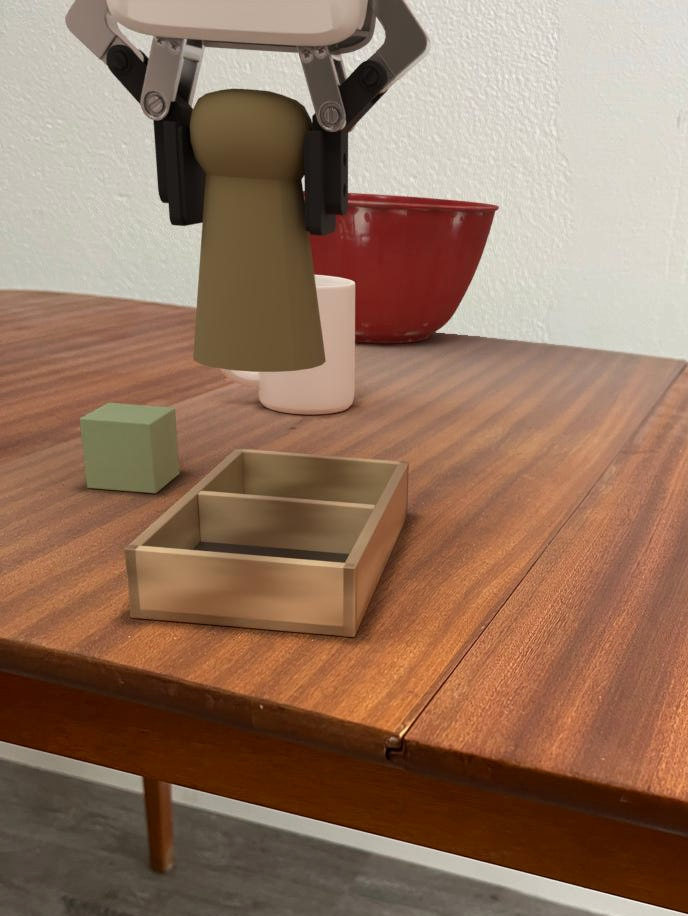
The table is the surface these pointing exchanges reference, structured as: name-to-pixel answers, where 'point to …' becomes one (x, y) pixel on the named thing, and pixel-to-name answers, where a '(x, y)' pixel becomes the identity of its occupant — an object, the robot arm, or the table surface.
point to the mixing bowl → (404, 261)
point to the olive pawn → (254, 235)
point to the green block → (130, 447)
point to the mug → (321, 384)
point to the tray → (272, 544)
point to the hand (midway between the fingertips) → (255, 223)
